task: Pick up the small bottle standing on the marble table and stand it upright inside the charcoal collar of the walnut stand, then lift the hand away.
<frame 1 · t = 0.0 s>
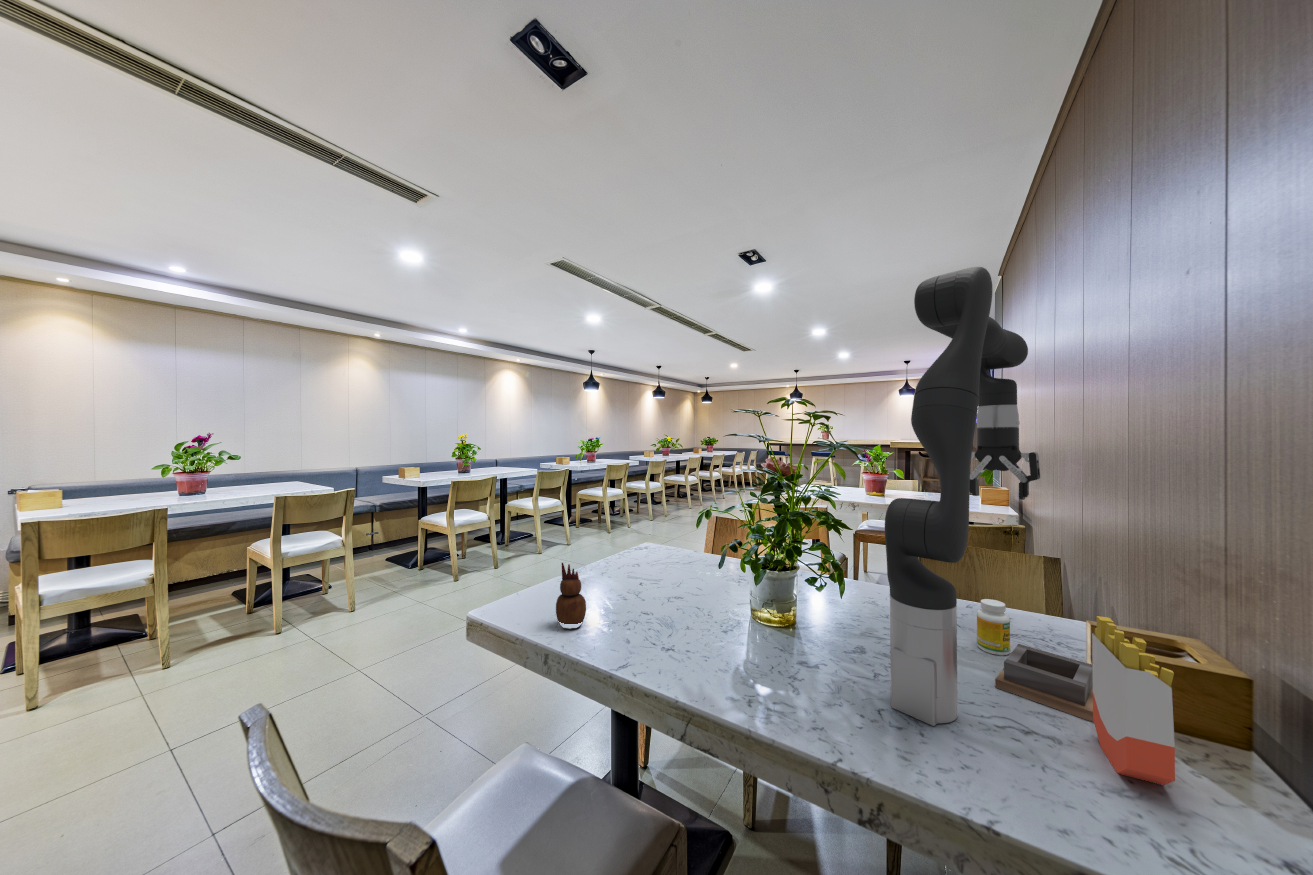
hand: (998, 497, 99), 29 cm above the table, tool pointing down, fingers open, 8 cm apart
french fries container: (1131, 766, 58), on the table
supplement bottle: (993, 650, 89), on the table
collar stand: (1048, 689, 75), on the table
wooden figurine: (571, 627, 102), on the table
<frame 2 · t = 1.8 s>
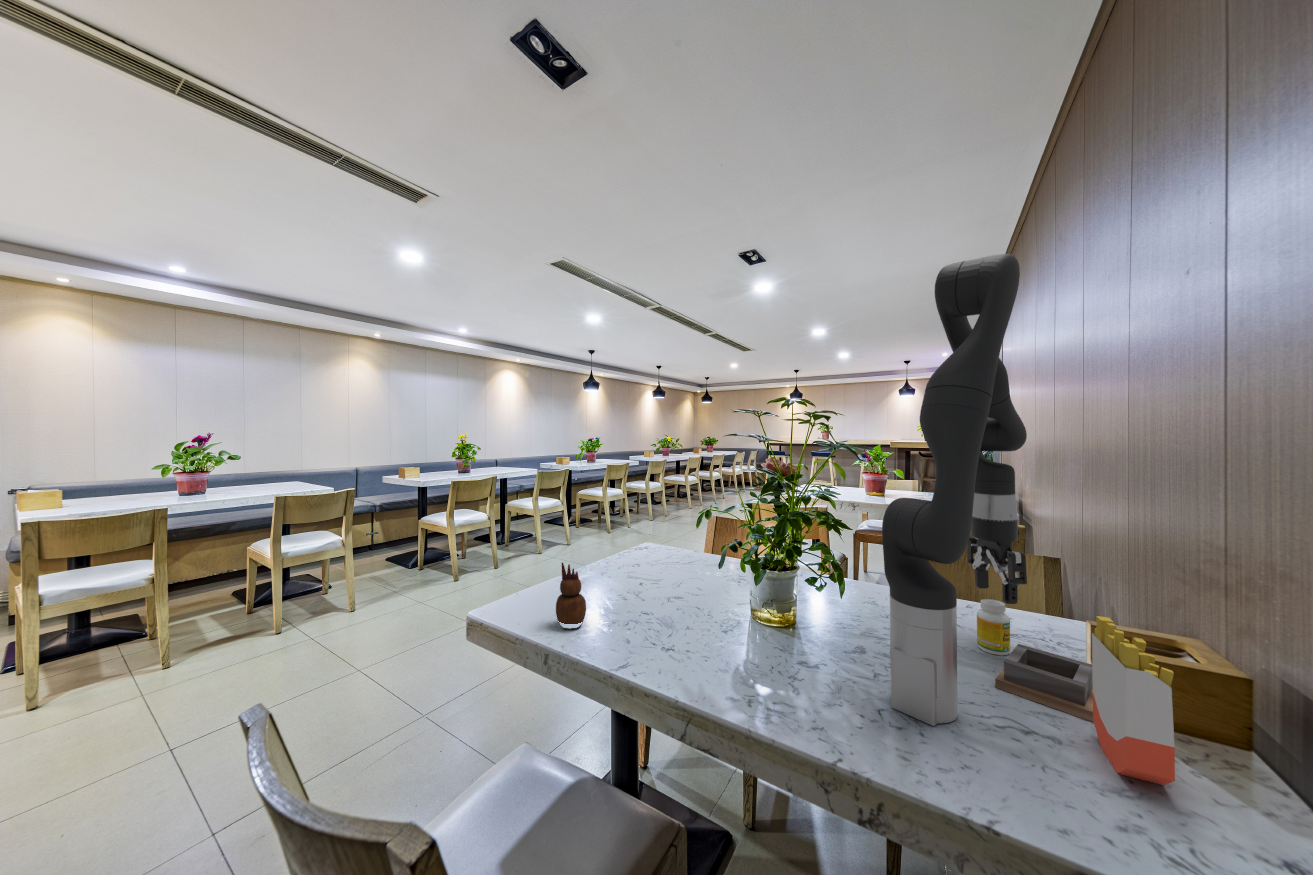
hand: (995, 595, 89), 11 cm above the table, tool pointing down, fingers open, 8 cm apart
nothing on the table moved.
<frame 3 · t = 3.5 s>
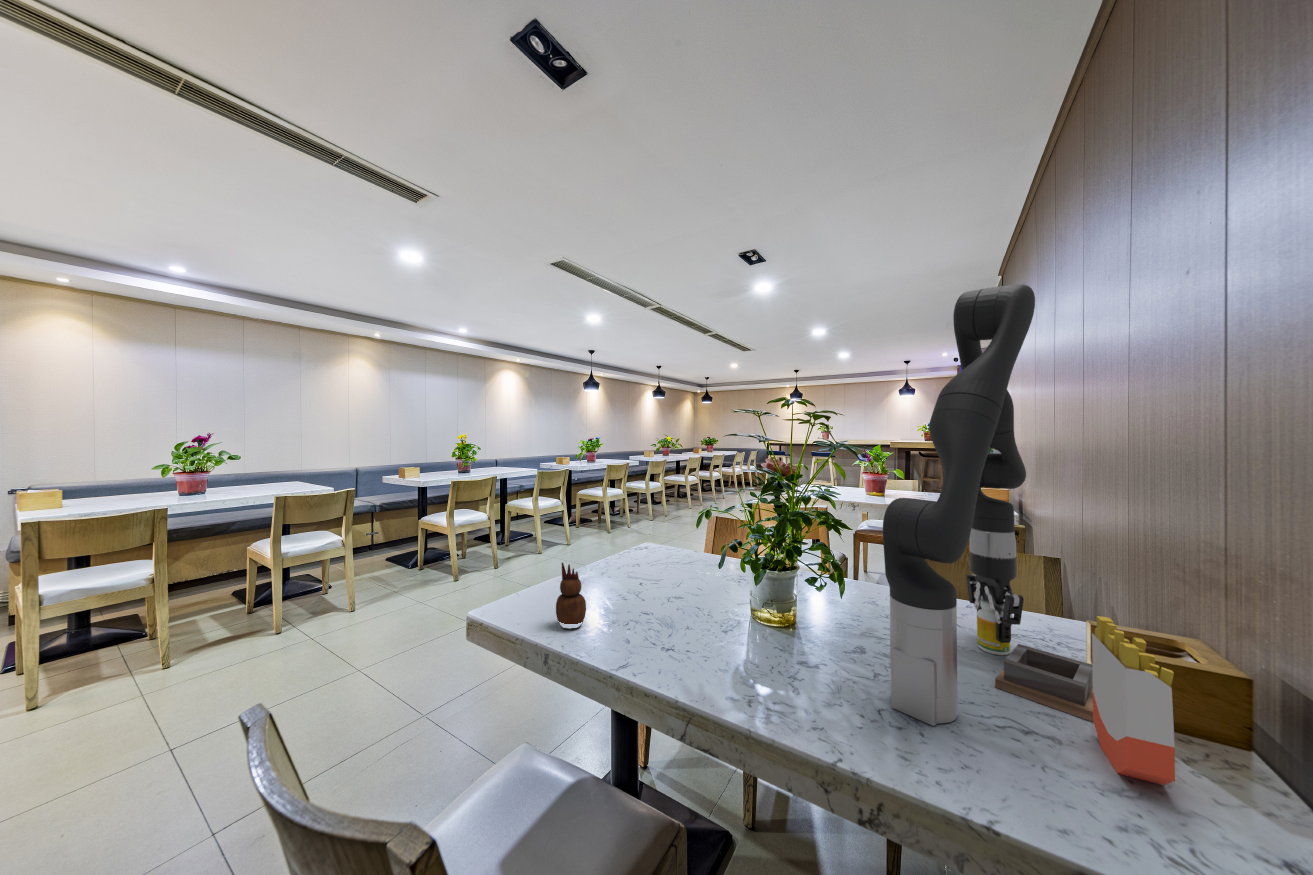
hand: (993, 634, 89), 3 cm above the table, tool pointing down, fingers closed on supplement bottle, 5 cm apart
supplement bottle: (993, 650, 89), on the table, touching gripper
everything else where it was.
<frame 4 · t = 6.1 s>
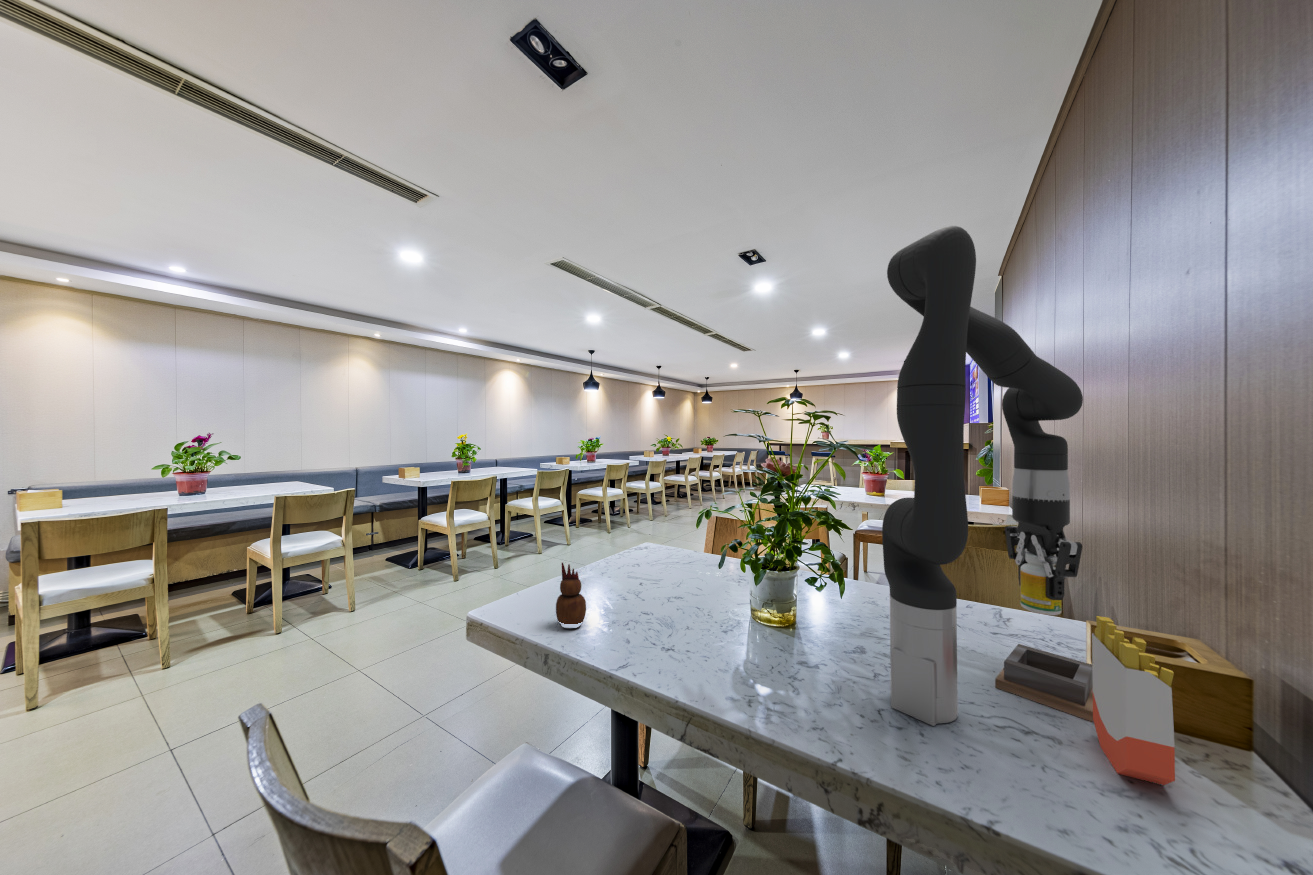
hand: (1040, 592, 76), 16 cm above the table, tool pointing down, fingers closed on supplement bottle, 5 cm apart
supplement bottle: (1040, 610, 76), point 13 cm above the table, touching gripper
everything else where it was.
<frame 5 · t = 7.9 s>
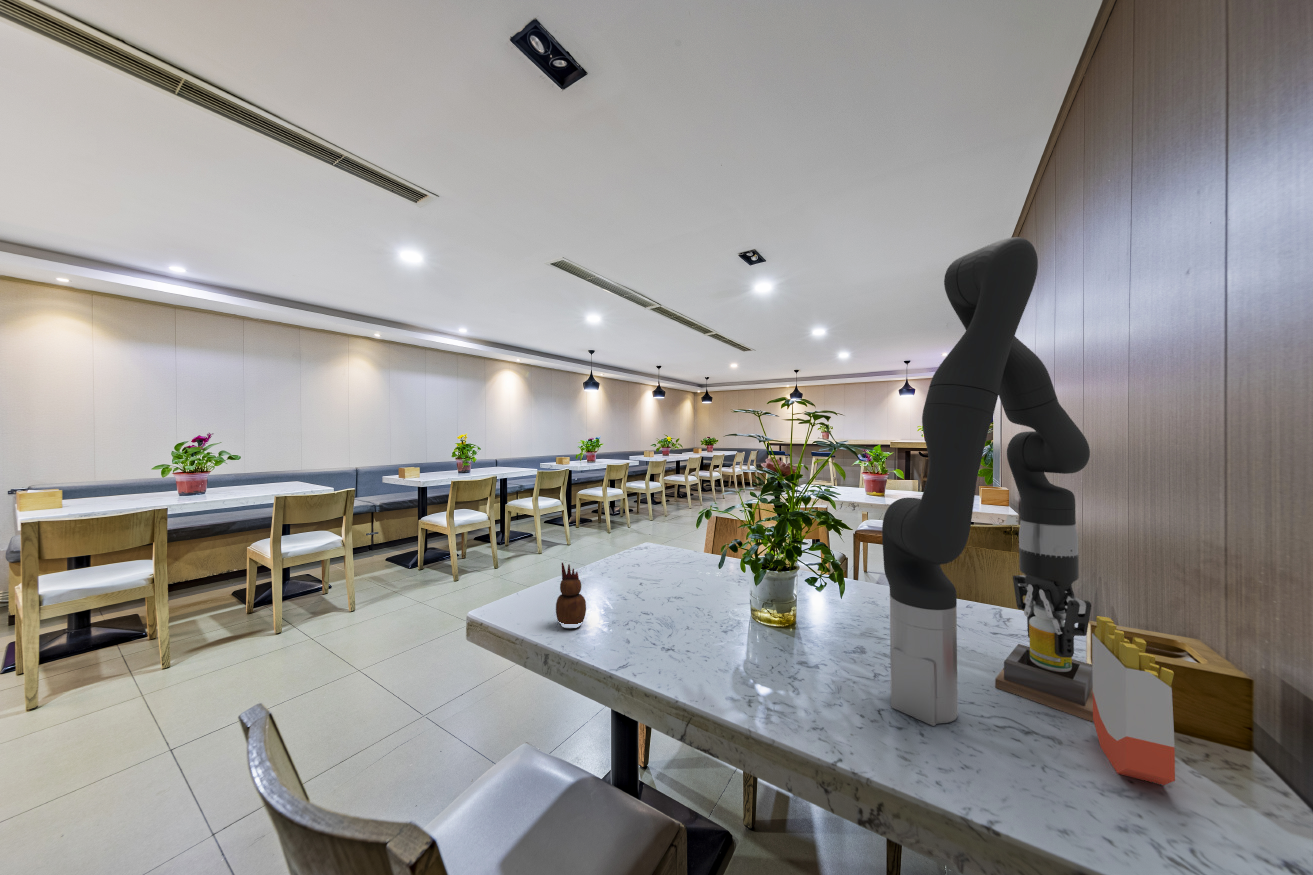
hand: (1049, 646, 75), 7 cm above the table, tool pointing down, fingers closed on supplement bottle, 5 cm apart
supplement bottle: (1050, 665, 74), point 4 cm above the table, touching gripper
everything else where it was.
when the fingers open (6 cm above the table, at t = 9.1 s): supplement bottle drops 1 cm, resting on collar stand.
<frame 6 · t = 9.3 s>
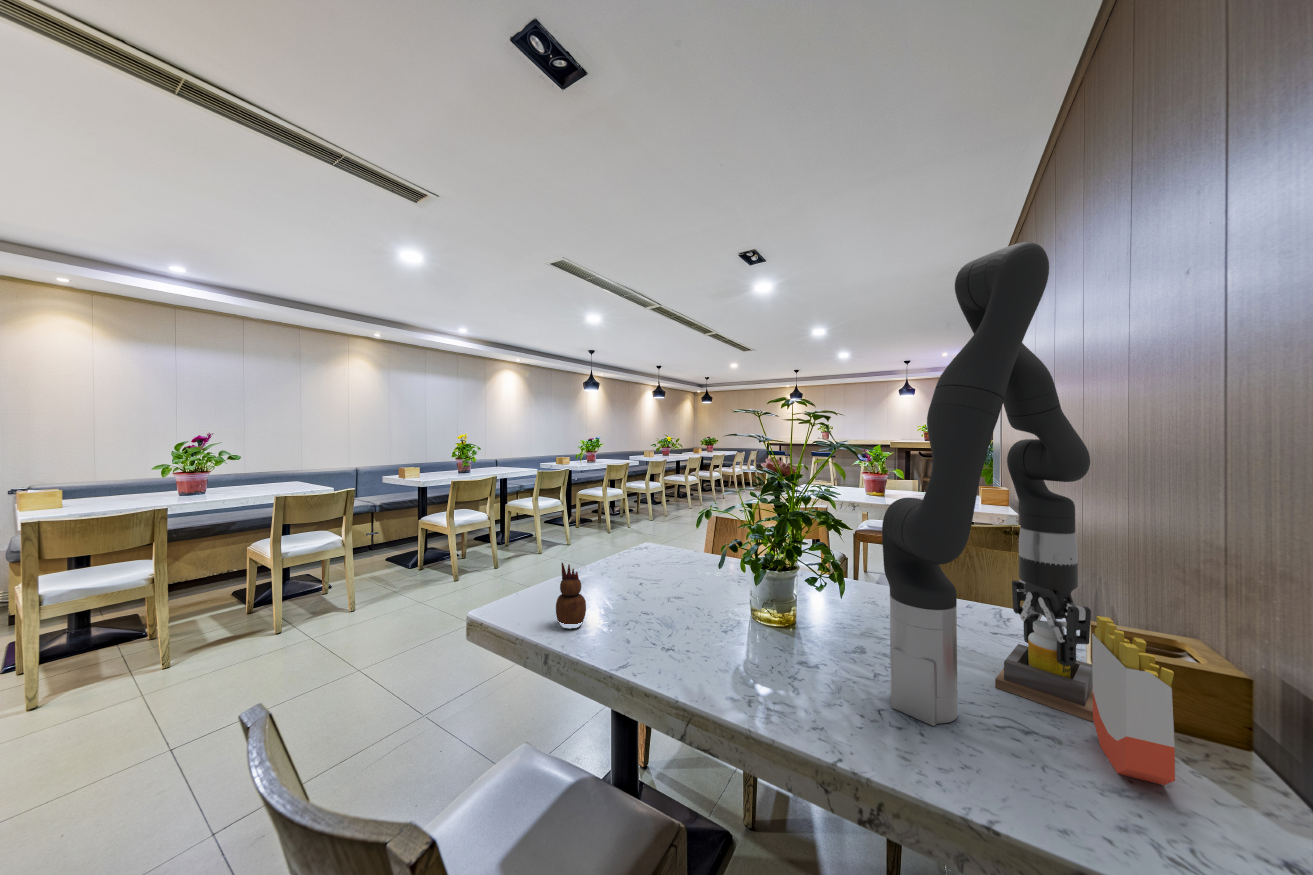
hand: (1048, 653, 75), 6 cm above the table, tool pointing down, fingers open, 6 cm apart
supplement bottle: (1049, 682, 74), point 1 cm above the table, touching collar stand
everything else where it was.
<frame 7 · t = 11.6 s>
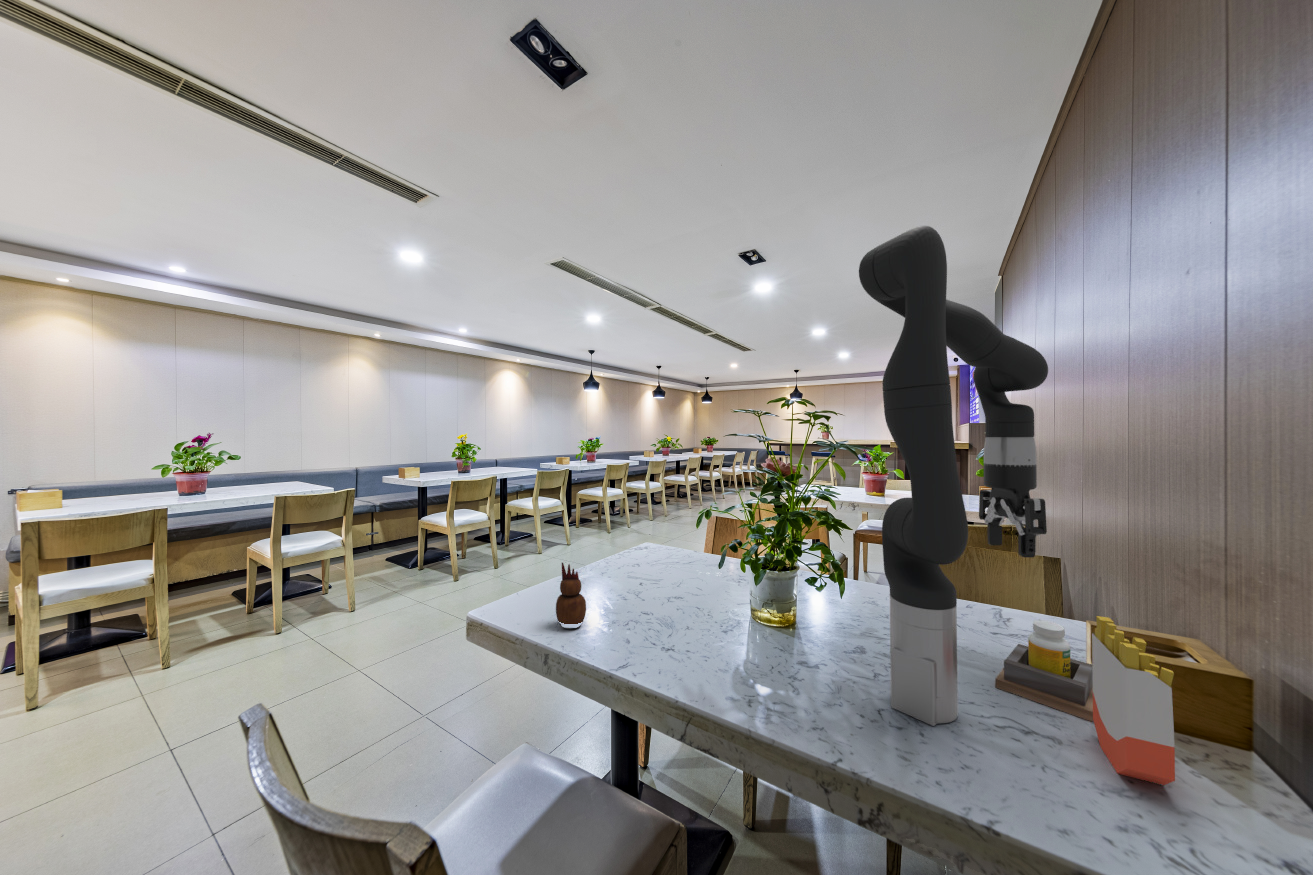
hand: (1009, 550, 80), 22 cm above the table, tool pointing down, fingers open, 8 cm apart
nothing on the table moved.
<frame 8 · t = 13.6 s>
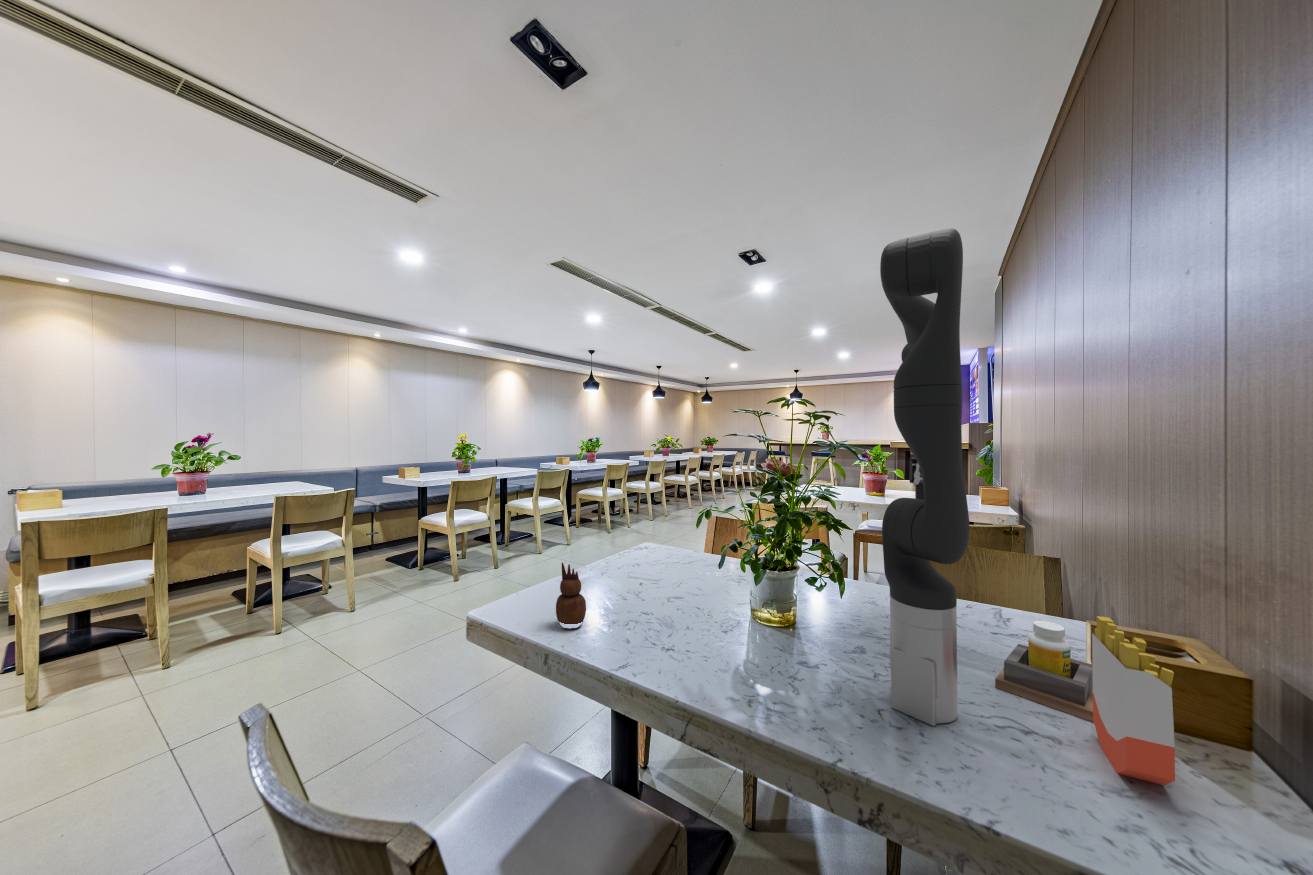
hand: (931, 506, 94), 28 cm above the table, tool pointing down, fingers open, 8 cm apart
nothing on the table moved.
at the end: supplement bottle 0.1 cm off-centre on the collar stand, point 1.3 cm above the collar stand's base; supplement bottle tilted 0°; the gripper is holding nothing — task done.
